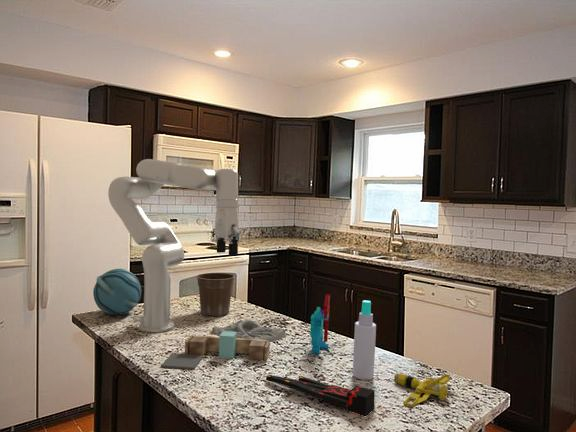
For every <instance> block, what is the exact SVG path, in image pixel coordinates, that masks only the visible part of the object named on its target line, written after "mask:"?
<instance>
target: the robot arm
mask: <svg viewBox="0 0 576 432" xmlns="http://www.w3.org/2000/svg"><path fill="white" fill-rule="evenodd" d="M135 169H136V170H135V171H136V175H137V177H136V176H135V177H134V176H119V177H117V178H114V179H113V180H112V181H111V182H110V184H109V187H108V192H107V193H108V195H107V196H108V201H109V203H110V205H111V207H112V208H113V210H114V211H115V213H116V215H118V217H119V218H120V220H121V221H122V223H123V225H124V227H125V228H126V230H127V232H128V233H129V235H130V236H131V238H132V239H133V241H134V242H135V243H136V244H137V245H139V246H147V247H146V248H145V249H144V250H143V252H142V255H141V262H142V267H143V276H144V277H143V278H144V280H143V284H144V285H143V287H144V289H143V314H142V315H137V314H135V315H133V316H132V318H133V319H132V320H133V322H134V323H137V322H139V324H138V329H139V330H140V331H141V332H145V333H162V332H163V333H164V332H168V331H170V330H173V328H174V327H175V326H174V325H175V324H174V322H173V321H171V319H170V318H171V284H172V282H171V281H172V280H171V275H170V273H169V268H171V267H175V266H179V265H180V264H182V262H183V261H184V259H185V251H184V247H183V245H182V244H181V242H180V240H179V239H178V238H177V236H176V234H175V233H174V232H173V230H172V228H171V227H170V226H169V225H168V223H166V222H165V221H164V220H161V219H150V218H149V217H148V215H147V214H146V213H145V211H144V210H143V208H141V206H140V205H138V203H136V201H134V200H145V199H148V198H150V197H151V196H153V195H154V194H156V192H158V191H159V190H161V188H162V187H164V185H165V186H172V187H177V188H182V189H183V188H184V189H190V190H191V189H192V190H195V191H215V195H216V197H215V199H216V201H215V209H216V211H215V217H214V218H215V220H214V236H215V237H216V238H215V239H216V240H215V241H216V253H217V254H218V253H219V254H221V253H226V247H227V246H226V239H227V238H228V242H229V243H228V256H231V257H232V256H238V255H239V240H240V234H241V232H240V230H239V214H238V210H239V173H238V171H237V169H233V168H220V169H218V170H217V169H212V168H205V167H195V166H191V165H190V166H189V165H184V164H183V165H182V164H180V163H178V162H172V161H167V160H159V159H158V160H157V159H153V158H152V159H151V158H146V159H142V160H140V162H139V163H137V166H136V168H135Z"/></svg>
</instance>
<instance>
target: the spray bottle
mask: <svg viewBox="0 0 576 432" xmlns="http://www.w3.org/2000/svg"><path fill="white" fill-rule="evenodd" d="M371 307H372V302H371V300H365V299H364V300H362V302H361V311H360V312H359V313H358V315H359V316H358V321H355V322H354V335H353V336H354V338H353V339H354V340H353V356H352V358H353V361H352V376H353V377H354V378H356V379H358V380H362V381H366V380H367V381H368V380H371V379H373V378H374V376H375V375H374V374H375V353H376V339H377V338H376V337H377V333H376V332H377V324H376V323H375V322H373V321H374V320H373V319H374V316H373V315H374V314H373V313H371V312H372V311H371V309H372V308H371Z"/></svg>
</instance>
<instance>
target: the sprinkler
mask: <svg viewBox="0 0 576 432" xmlns="http://www.w3.org/2000/svg"><path fill="white" fill-rule="evenodd" d="M393 380H394V382H395V383H397V384H398V385H401V386H403V387H406V388H409V389H415V390H414V392H411V393H410V395H409V396H408V397H407V398H406V399H405V400H404V401H403V405H404V406H406V407H409V408H413V407H414V406H416V405H418V404H420V403H422V402H425V401H427V399H429V397H430V396H431V395H433V396H436V397H437V398H439V400H440V401H444V400H446V398H447V396H448V395H449V394H448V393H449V392H448V387H447V385H446V384H447V383H448V382H450V381H451V375H449V374H444V375H442V376H441V377H438V378H435V379H434V378H433V377H429V378H426V379H425V380H423V381H420V380H419V379H417V378H415V377H413V376H410V375H406V374H403V373H395V374H394V376H393ZM422 394H423V396H422ZM421 396H422V397H421ZM412 399H414V401H412V403H409V402H410V401H411V400H412Z"/></svg>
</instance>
